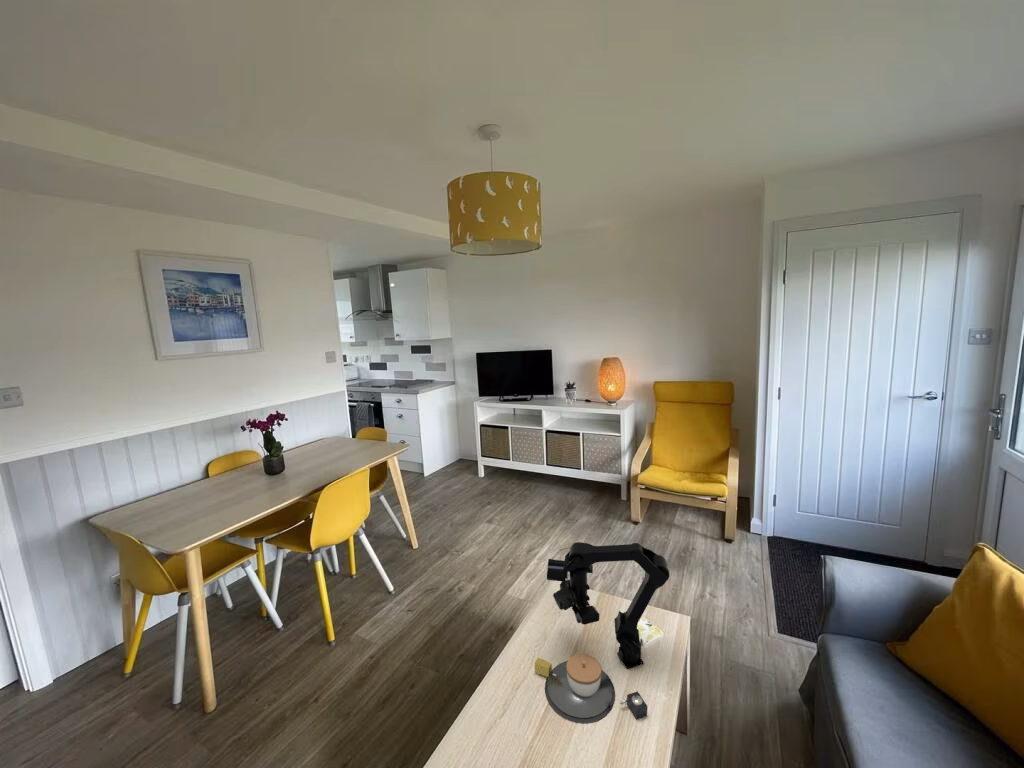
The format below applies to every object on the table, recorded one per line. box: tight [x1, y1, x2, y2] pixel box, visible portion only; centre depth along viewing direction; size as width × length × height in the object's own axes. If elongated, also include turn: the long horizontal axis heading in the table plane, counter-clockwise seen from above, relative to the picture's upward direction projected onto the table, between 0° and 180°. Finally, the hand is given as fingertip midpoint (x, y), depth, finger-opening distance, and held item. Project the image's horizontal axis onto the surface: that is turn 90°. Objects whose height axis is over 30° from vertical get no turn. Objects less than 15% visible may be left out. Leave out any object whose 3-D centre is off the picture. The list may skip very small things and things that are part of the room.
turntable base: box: [544, 667, 616, 724], centre depth 133 cm, size 22×22×1 cm
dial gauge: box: [619, 691, 648, 721], centre depth 125 cm, size 6×5×4 cm
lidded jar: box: [566, 653, 603, 697], centre depth 132 cm, size 11×11×9 cm
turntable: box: [534, 657, 613, 719], centre depth 134 cm, size 25×20×3 cm
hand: (578, 622), depth 145 cm, fingers closed
